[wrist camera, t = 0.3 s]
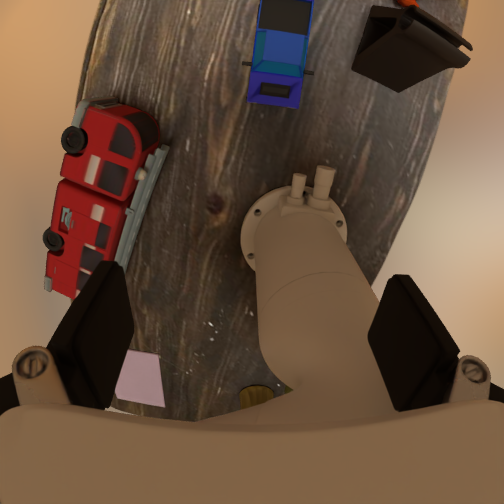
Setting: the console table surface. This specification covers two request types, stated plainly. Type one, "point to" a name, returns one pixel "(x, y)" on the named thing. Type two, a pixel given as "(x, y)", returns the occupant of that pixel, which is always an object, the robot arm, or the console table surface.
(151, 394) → the cloth
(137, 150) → the toy
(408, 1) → the toy
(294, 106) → the toy car
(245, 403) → the vase
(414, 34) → the phone stand
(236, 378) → the console table surface
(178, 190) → the console table surface
